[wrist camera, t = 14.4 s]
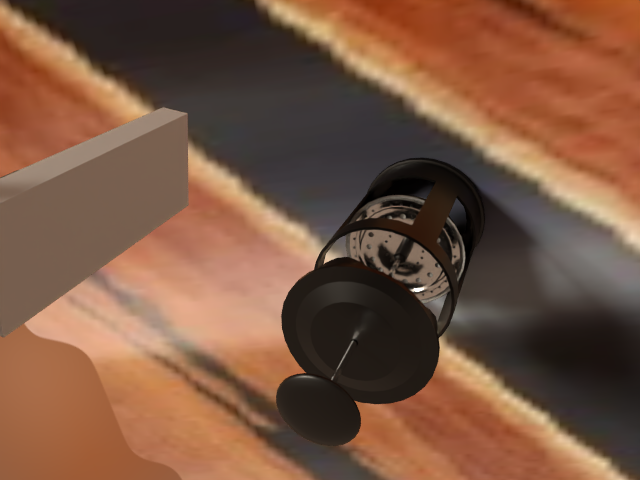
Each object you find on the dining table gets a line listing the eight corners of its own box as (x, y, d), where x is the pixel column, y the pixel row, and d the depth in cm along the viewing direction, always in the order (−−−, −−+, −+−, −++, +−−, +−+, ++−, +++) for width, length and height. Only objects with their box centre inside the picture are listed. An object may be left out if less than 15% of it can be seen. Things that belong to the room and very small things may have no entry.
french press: (409, 125, 43) (276, 280, 24) (517, 197, 42) (468, 414, 23) (336, 237, 49) (187, 428, 31) (428, 301, 49) (335, 535, 30)
